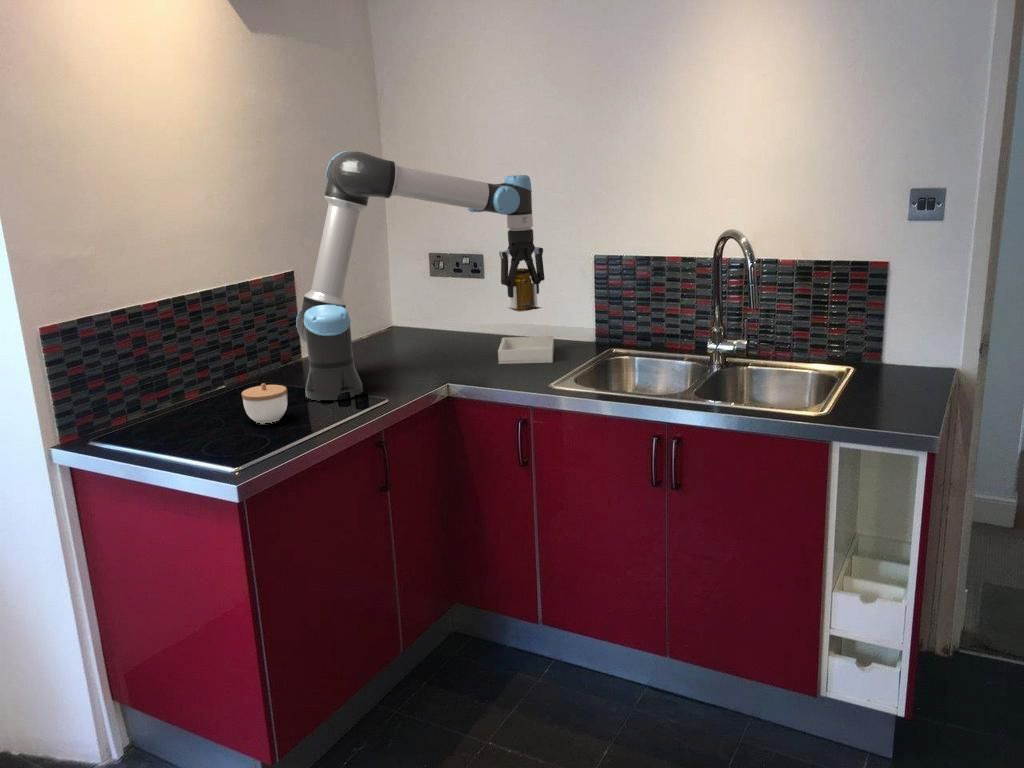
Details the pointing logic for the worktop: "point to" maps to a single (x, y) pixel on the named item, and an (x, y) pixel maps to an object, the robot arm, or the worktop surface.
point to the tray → (526, 350)
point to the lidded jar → (265, 402)
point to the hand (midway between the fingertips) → (524, 306)
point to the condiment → (523, 291)
